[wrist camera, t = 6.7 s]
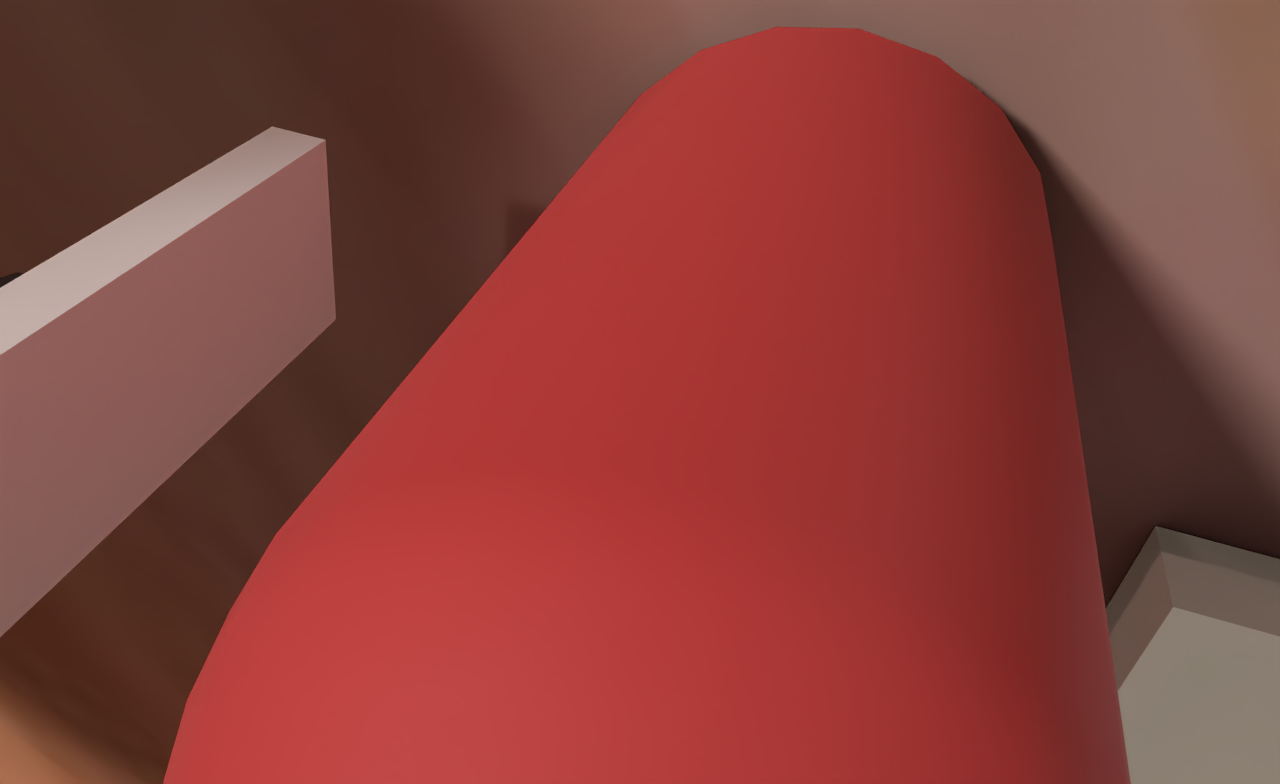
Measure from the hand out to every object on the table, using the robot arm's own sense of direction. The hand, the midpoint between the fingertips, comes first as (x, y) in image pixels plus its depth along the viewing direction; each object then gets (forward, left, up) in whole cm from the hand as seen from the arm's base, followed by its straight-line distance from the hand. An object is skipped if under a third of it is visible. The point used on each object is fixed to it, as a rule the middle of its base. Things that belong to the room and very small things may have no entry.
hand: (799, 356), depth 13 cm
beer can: (0, 0, -3) cm, 3 cm away
